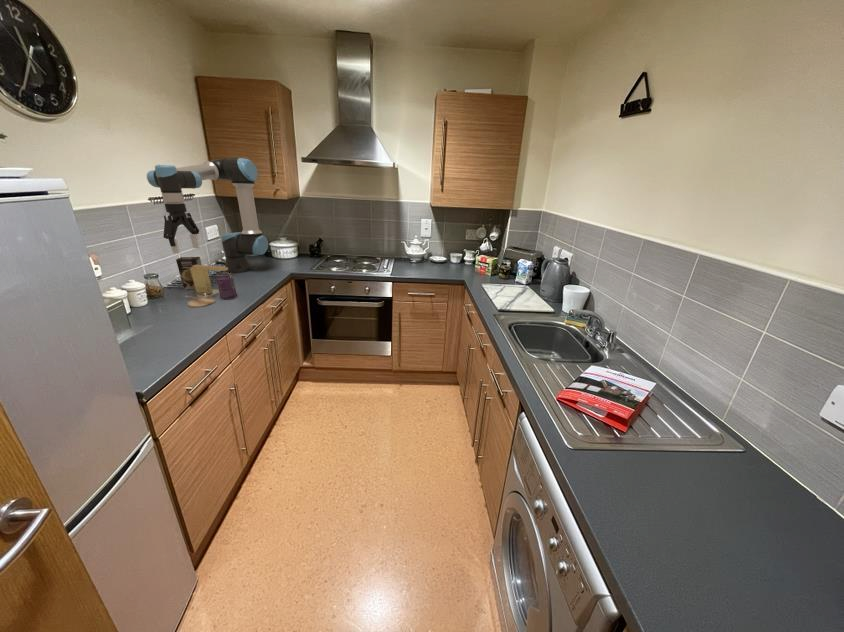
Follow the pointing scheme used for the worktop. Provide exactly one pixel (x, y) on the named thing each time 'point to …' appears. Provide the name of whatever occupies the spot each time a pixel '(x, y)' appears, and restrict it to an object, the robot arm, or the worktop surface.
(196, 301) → the coaster
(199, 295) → the key plate
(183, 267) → the coffee box
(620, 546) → the worktop surface
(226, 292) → the purple glass
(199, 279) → the turnkey
